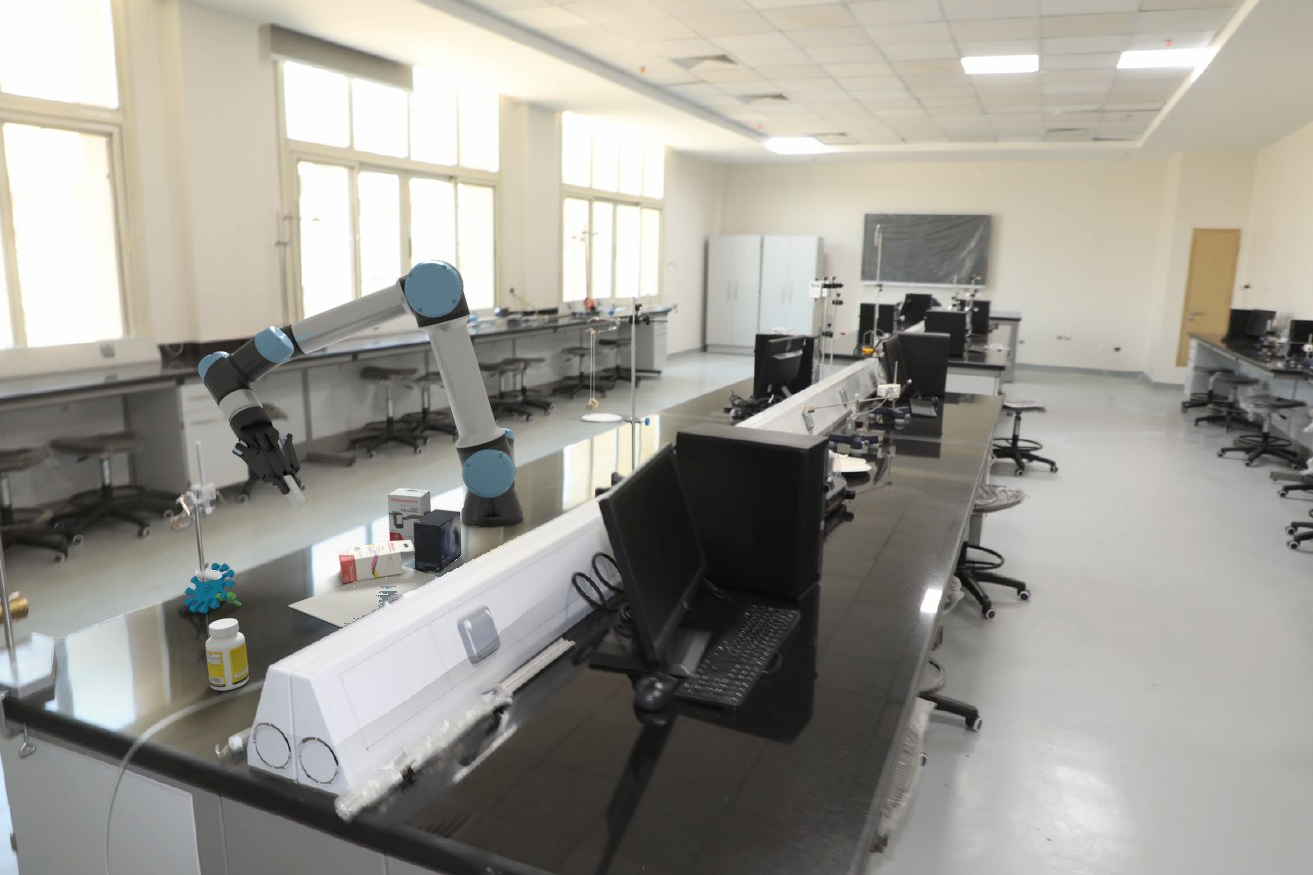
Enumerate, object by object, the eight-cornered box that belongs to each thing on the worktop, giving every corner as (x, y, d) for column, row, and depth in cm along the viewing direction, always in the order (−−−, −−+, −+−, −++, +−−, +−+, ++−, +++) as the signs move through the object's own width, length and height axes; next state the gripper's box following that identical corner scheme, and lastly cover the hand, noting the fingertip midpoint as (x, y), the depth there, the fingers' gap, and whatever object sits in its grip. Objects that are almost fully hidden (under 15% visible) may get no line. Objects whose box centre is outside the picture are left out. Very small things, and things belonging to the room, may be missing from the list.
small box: (442, 573, 175) (440, 525, 173) (413, 570, 176) (411, 522, 174) (463, 556, 185) (462, 510, 183) (436, 553, 187) (434, 508, 184)
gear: (171, 600, 156) (207, 554, 160) (193, 612, 161) (227, 567, 165) (208, 620, 151) (244, 572, 155) (230, 632, 156) (264, 585, 160)
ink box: (388, 543, 193) (385, 493, 191) (399, 536, 198) (396, 487, 195) (423, 546, 191) (420, 495, 189) (433, 539, 196) (431, 490, 194)
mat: (400, 566, 179) (400, 565, 179) (459, 584, 169) (459, 584, 169) (288, 606, 158) (288, 605, 158) (348, 630, 148) (348, 629, 148)
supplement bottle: (249, 672, 133) (244, 613, 131) (248, 687, 128) (242, 627, 126) (211, 678, 131) (204, 619, 129) (208, 694, 126) (201, 633, 124)
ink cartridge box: (342, 585, 169) (417, 572, 174) (339, 561, 168) (415, 549, 173) (340, 570, 176) (412, 559, 182) (337, 548, 175) (410, 537, 181)
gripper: (268, 421, 186) (321, 506, 181) (210, 432, 176) (264, 522, 170) (280, 400, 182) (334, 486, 177) (221, 409, 172) (277, 501, 166)
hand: (300, 504), depth 173 cm, fingers closed
